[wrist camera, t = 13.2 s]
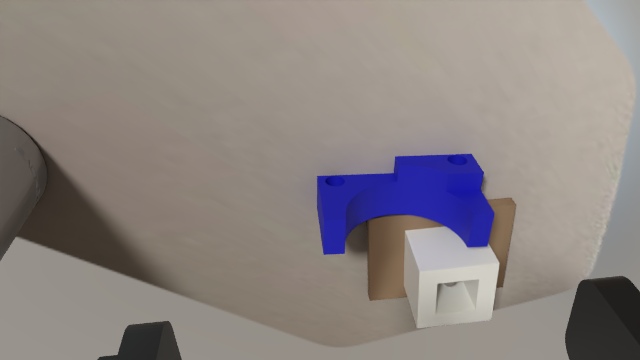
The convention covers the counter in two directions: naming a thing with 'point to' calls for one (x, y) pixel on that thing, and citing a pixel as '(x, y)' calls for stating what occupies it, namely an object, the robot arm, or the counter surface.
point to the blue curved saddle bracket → (407, 198)
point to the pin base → (390, 247)
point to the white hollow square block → (448, 278)
